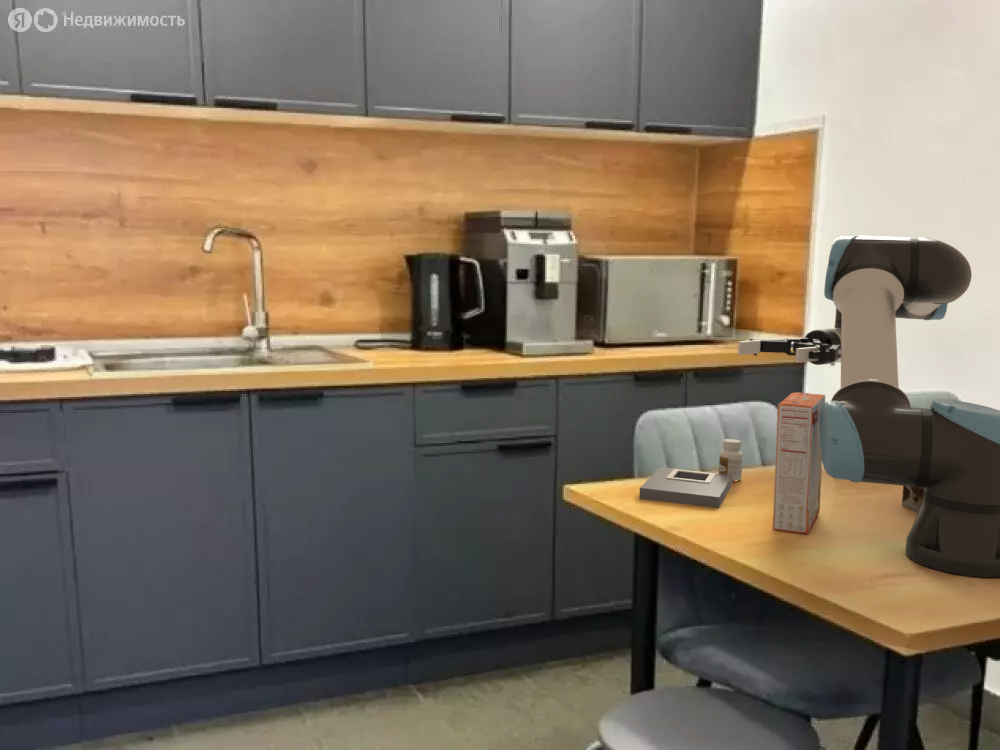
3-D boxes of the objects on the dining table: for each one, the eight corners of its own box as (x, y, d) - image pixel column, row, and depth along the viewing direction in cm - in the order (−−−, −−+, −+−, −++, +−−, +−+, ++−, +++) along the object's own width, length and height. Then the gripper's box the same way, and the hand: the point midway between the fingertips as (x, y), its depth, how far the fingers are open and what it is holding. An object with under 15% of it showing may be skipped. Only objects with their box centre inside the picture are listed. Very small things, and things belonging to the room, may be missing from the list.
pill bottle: (715, 476, 188) (717, 438, 186) (736, 476, 188) (738, 438, 187) (722, 481, 183) (725, 442, 182) (744, 481, 184) (747, 443, 183)
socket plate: (718, 508, 164) (719, 495, 164) (639, 498, 169) (639, 486, 168) (731, 485, 181) (732, 474, 180) (659, 477, 185) (659, 466, 185)
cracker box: (784, 509, 164) (791, 391, 161) (820, 514, 162) (828, 394, 159) (769, 530, 152) (776, 401, 149) (808, 535, 149) (816, 405, 146)
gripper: (879, 370, 193) (821, 378, 180) (775, 357, 212) (716, 363, 199) (882, 334, 192) (824, 339, 179) (778, 324, 211) (718, 327, 198)
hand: (767, 351), depth 189 cm, fingers open, 13 cm apart
